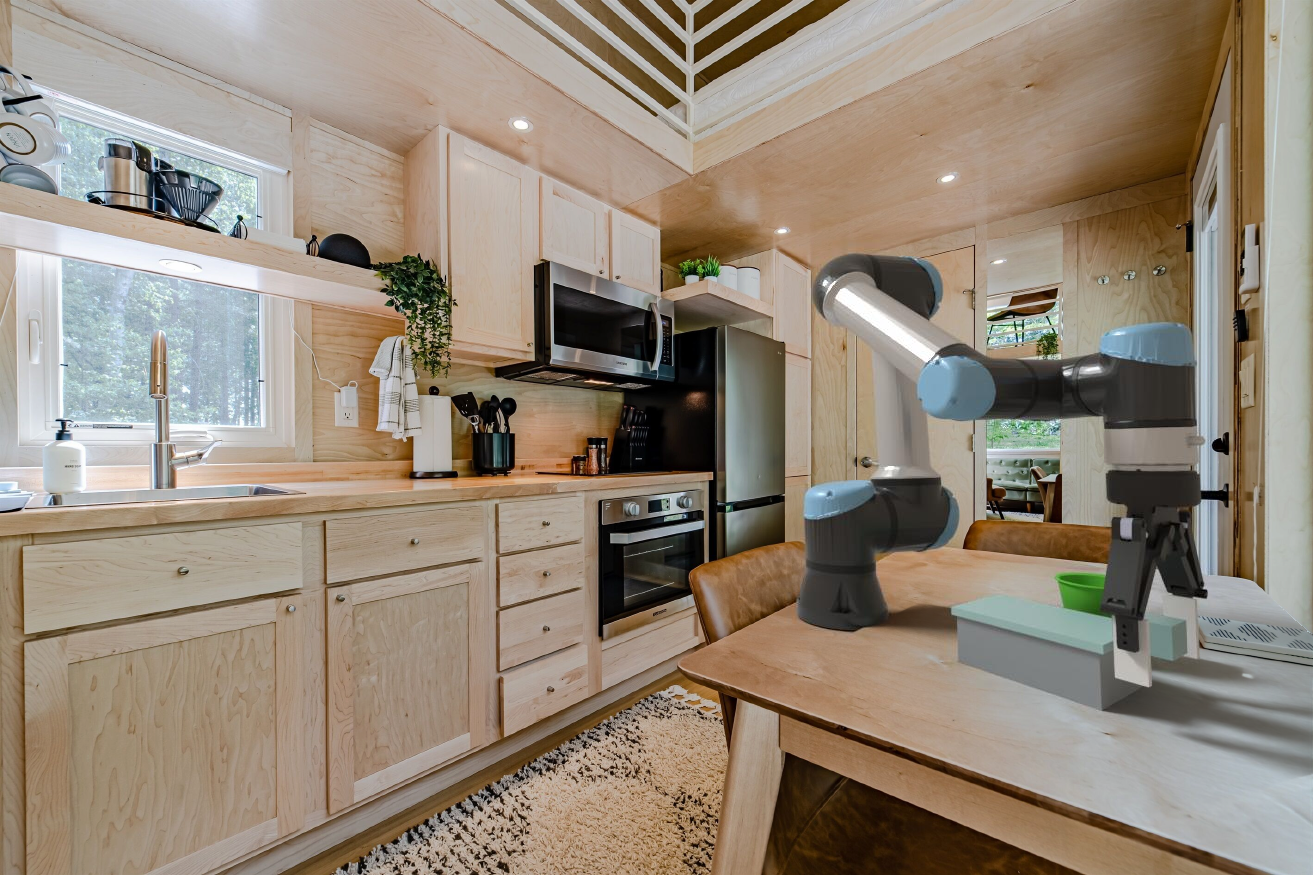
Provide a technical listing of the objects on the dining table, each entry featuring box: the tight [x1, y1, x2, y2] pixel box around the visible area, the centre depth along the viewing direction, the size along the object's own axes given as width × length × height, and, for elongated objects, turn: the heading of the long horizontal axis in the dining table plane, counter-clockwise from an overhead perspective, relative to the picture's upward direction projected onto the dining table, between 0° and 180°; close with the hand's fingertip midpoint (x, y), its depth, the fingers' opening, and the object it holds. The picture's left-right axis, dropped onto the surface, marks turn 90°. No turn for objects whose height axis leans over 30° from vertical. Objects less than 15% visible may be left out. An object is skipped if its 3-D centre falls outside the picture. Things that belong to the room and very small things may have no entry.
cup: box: [1054, 571, 1126, 618], centre depth 72 cm, size 9×9×11 cm
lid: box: [950, 593, 1188, 662], centre depth 65 cm, size 21×11×4 cm, turn 30°
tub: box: [956, 616, 1143, 711], centre depth 67 cm, size 16×11×7 cm
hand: (1159, 667), depth 57 cm, fingers open, 12 cm apart
